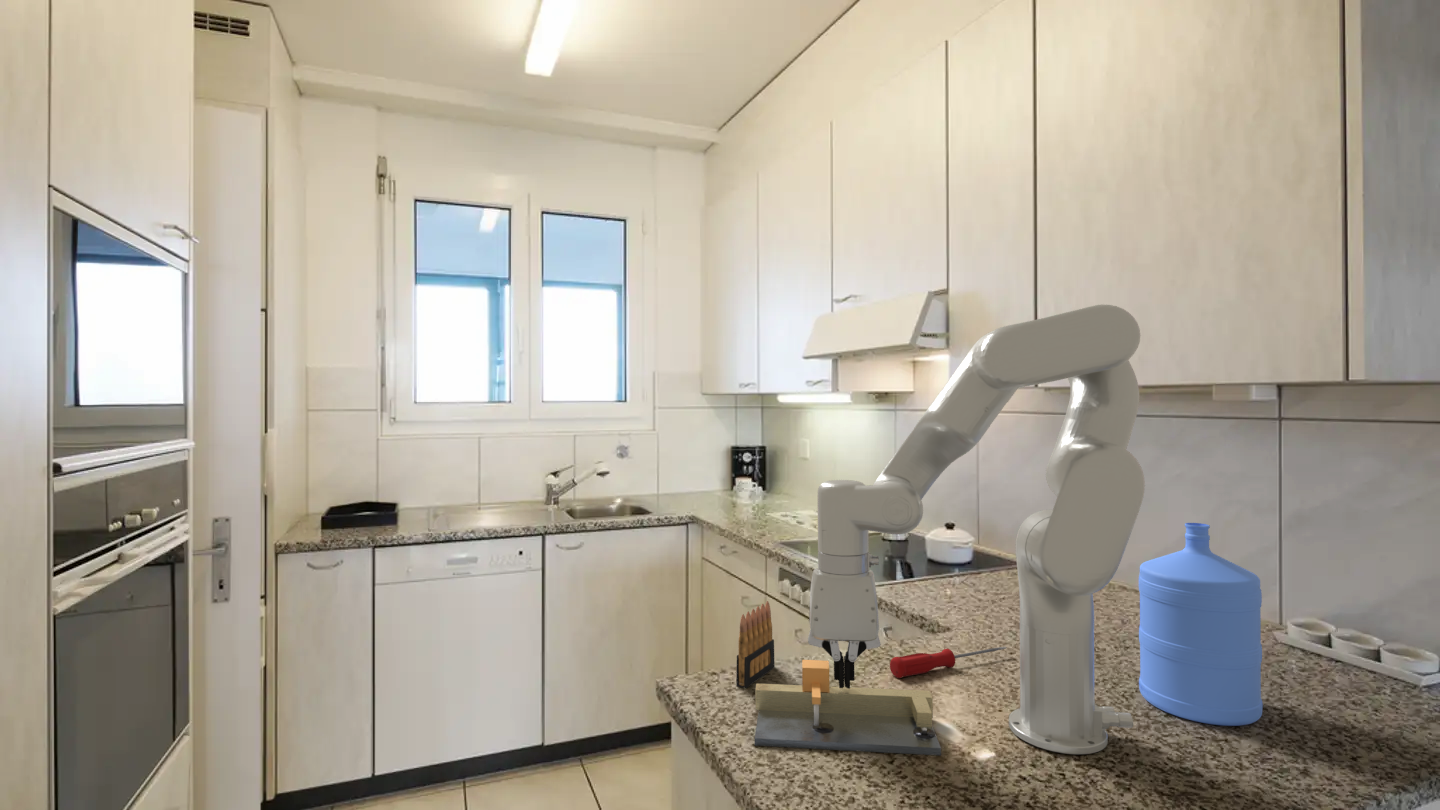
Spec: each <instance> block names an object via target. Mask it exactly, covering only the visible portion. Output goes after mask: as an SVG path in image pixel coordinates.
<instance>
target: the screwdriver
mask: <svg viewBox="0 0 1440 810" xmlns="http://www.w3.org/2000/svg"><path fill="white" fill-rule="evenodd" d="M1005 649H1007V647H1006V646H999V647H994V648H993V647H992V648H988V649H983V650H976V651H970V652H967V653H961V654H955V653H954V652H953V651H952V649H950V648H944V649H942V651H939V652H936V653H926V652H925V653H924V652H919V653H914V654H907V655H902V656H895V657H892V658H891V659H890V662H889V669H890V672H891V674H892V675H893V676H894V677H895V678H896V679H902V678H905V677H910V676H914V675H921V674H926V673H928V672H930V671H932V670H934V669H937V668H941V667H946V668H948V669H949V668H954V667H955V665H956V659H959V658H965V657H970V656H976V655H981V654H985V653H991V652H997V651H1001V650H1005Z"/></svg>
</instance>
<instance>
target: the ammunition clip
mask: <svg viewBox="0 0 1440 810" xmlns="http://www.w3.org/2000/svg"><path fill="white" fill-rule="evenodd" d="M738 632H739V633H738V634H739V636H738V654H737V655H736V675H735V676H736V680H735V681H736V682H735V683H736V685H735V686H736V687H738V688H743V689H747V688H749V687H750V686H751V685H753V684H754V683H755V682H757V681H759V680H760V679H761V678H762V677H764V676H765V675H766V674H767V673H769V672H771V671H772V670H773V669H774V668H775V640H774V639H773V624H772V612H771V606H770V602H769V601H768V600H767V601H766V602H765V604H764V603H761V606H759V605H758V606H757V607H756V609H755V608H752V610H751V612H750V611H747V613H746V615H744V613H742V614H741V617H740V621H739V631H738Z"/></svg>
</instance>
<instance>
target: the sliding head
mask: <svg viewBox="0 0 1440 810" xmlns="http://www.w3.org/2000/svg"><path fill="white" fill-rule="evenodd" d="M801 669H802V670H801V671H802V673H801V674H802V675H801V677H802V680H801V681H802V684H801V685H802V691H811V692H812V704H814V725H815V726H819V705H821V694H820V692H830V689H829V687H830V662H829V660H821V659H820V660H819V659H818V660H817V659H802V663H801Z"/></svg>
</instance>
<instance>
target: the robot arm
mask: <svg viewBox="0 0 1440 810" xmlns="http://www.w3.org/2000/svg"><path fill="white" fill-rule="evenodd" d="M1140 342H1141V329H1140V326H1139V323H1138V321H1137V320H1136V319H1135V317H1134V316H1133V314H1131V313H1130V312H1129V311H1127V310H1126V309H1124V308H1122V307H1120V306H1117V305H1112V304H1096V305H1091V306H1087V307H1082V308H1078V309H1074V310H1071V311H1066V312H1062V313H1059V314H1054V315H1051V316H1046V317H1043V318H1042V317H1040V318H1038V319H1034V320H1028V321H1024V322H1018V323H1014V324H1009V325H1004V326H1001V327H998V328H996V329H994V330H992V331H990V332H988V333H986V334H984V335H983V336H981V337H979V339H978V340H977V341H976V342H975V343H974V344H973V346H972V347H971V348H970V349H969V351H968V352H967V354H966V356H965V357H964V358H963V359H962V361H961V362H960V364H959V365H958V367H957V368H956V369H955V371H954V372H953V373H952V375H951V376H950V377H949V379H948V380H947V382H946V383H945V384H944V386H943V387H942V388H941V390H940V392H939V393H938V394H937V396H936V397H935V398H934V400H933V401H932V402H931V404H930V405H929V406H928V408H927V409H926V411H925V412H924V413H923V415H921V417H920V418H919V420H918V422H917V423H916V425H915V427H914V428H913V429H912V431H911V432H910V433H909V435H908V436H907V437H906V439H905V440H904V441H903V443H902V444H901V445H900V447H899V448H898V449H897V451H896V452H895V453H894V455H893V456H892V457H891V459H890V460H889V461H888V463H887V464H886V465H885V467H884V468H883V470H882V471H881V473H880V474H879V475H878V477H877V478H876V479H875V481H874V483H873V484H872V485H871V484H870V485H867V484H864V483H863V482H861V481H858V480H849V479H834V480H833V479H831V480H826V481H822V483H820V484H819V486H818V488H817V568H814V569H813V571H812V574H811V581H810V591H809V592H810V593H809V628H810V630H809V634H808V638H807V643H808V645H811V646H813V647H816V648H821V649H823V650H824V651H825V652H826V653H827V654H828V655H829V656H830V657H831V658H832V660H833V679H834V681H838V687H839V688H843V687H846V688H849V689H850V687H851V681H855V675H856V674H855V662H856V661H857V658H859V656H861V655H862V653H864V652H865V651H866V650H872V649H875V648H879V647H881V639H880V636H879V628H880V625H879V624H880V623H879V607H878V606H879V605H878V604H879V603H878V595H877V588H876V587H877V586H876V580H875V575H874V571H873V570H871V569H870V568H871V567H873V566H879V564H880V563H879V562H880V560H879V556H878V555H874V554H871V553H870V551H869V550H870V548H869V531H870V532H876V533H881V534H888V535H895V536H896V535H904V534H908V533H910V532H913V530H915V529H916V528H917V527H918V526H919V525H920V523H921V521H922V519H923V516H924V515H923V514H924V504H923V501H922V500H923V498H924V497H925V495H926V494H927V493H928V491H929V490H930V489H931V487H932V486H933V485H934V483H936V481H937V480H938V478H939V477H940V476H941V475H942V473H943V472H944V471H945V470H946V469H947V468H948V467H949V466H950V465H951V464H953V463H954V462H955V461H957V460H958V459H959V458H961V457H963V456H964V455H966V454H968V453H969V452H970V451H971V450H973V448H974V447H975V446H976V445H978V443H979V442H980V441H981V440H982V438H983V437H984V435H985V434H986V433H987V431H988V430H989V429H990V427H991V426H992V424H993V422H994V421H995V420H996V418H997V417H998V415H999V414H1000V413H1001V411H1002V410H1003V409H1004V408H1005V406H1006V405H1007V403H1009V402H1010V400H1011V398H1012V397H1013V396H1014V395H1015V393H1016V391H1017V390H1018V389H1020V388H1024V387H1029V386H1035V385H1040V384H1041V385H1042V384H1046V383H1053V382H1057V381H1061V380H1065V379H1067V380H1068V383H1069V389H1070V391H1069V392H1070V396H1069V402H1068V405H1067V409H1066V412H1065V416H1064V419H1063V422H1062V424H1061V428H1060V430H1059V432H1058V436H1057V439H1056V441H1055V445H1054V447H1053V450H1052V452H1051V455H1050V457H1049V459H1048V462H1047V466H1046V468H1045V469H1046V470H1045V471H1046V472H1045V480H1046V483H1047V486H1048V487H1049V489H1050V491H1051V492H1052V493H1053V494H1054V495H1055V496H1056V500H1055V502H1054V506H1053V509H1042V510H1039V511H1035V512H1034V513H1031V514H1030V515H1029V516H1028V517H1026V518H1025V519H1024V520H1023V521H1022V523H1021V524H1020V525H1019V528H1018V530H1017V534H1016V539H1015V560H1016V569H1017V578H1018V590H1019V593H1018V595H1019V688H1020V689H1019V691H1020V692H1019V694H1020V695H1019V697H1020V698H1019V701H1020V702H1019V703H1020V705H1019V706H1020V707H1019V708H1016V709H1014V710H1013V711H1012V712H1011V713H1010V714H1009V716H1008V727H1009V729H1010V731H1011V732H1012V733H1014V735H1015V736H1017V737H1018V738H1019V739H1021V740H1022V741H1024V742H1026V743H1028V744H1030V745H1031V746H1032V745H1033V746H1035V747H1037V748H1040V749H1043V750H1047V751H1050V752H1054V753H1060V754H1067V755H1088V754H1089V755H1090V754H1094V753H1098V752H1100V751H1102V750H1104V749H1105V748H1107V745H1108V743H1109V742H1108V737H1109V735H1108V733H1107V730H1108V729H1109V728H1110V727H1118V728H1126V729H1127V728H1128V729H1132V728H1133V727H1134V720H1133V719H1134V718H1133V715H1132V714H1131V713H1130V712H1122V711H1121V712H1117V711H1115V708H1114V707H1113V706H1107V705H1106V706H1105V705H1103V706H1098V705H1097V703H1095V604H1094V603H1095V602H1094V595H1093V594H1096V593H1098V592H1099V591H1101V590H1103V589H1104V588H1105V587H1106V586H1107V585H1108V584H1109V583H1110V582H1111V581H1112V579H1113V578H1114V577H1115V574H1116V572H1117V571H1118V568H1119V566H1120V564H1121V562H1122V559H1123V557H1124V553H1125V551H1126V548H1127V545H1128V543H1129V540H1130V538H1131V535H1132V531H1133V528H1134V526H1135V524H1136V520H1137V519H1138V518H1137V517H1138V515H1139V513H1140V509H1141V507H1142V505H1143V504H1142V503H1143V499H1144V494H1145V486H1146V485H1145V476H1144V475H1145V474H1144V470H1143V468H1142V466H1141V463H1140V462H1139V461H1138V459H1137V458H1136V457H1135V456H1134V455H1133V454H1132V453H1131V452H1130V451H1129V450H1127V448H1128V446H1129V442H1130V439H1131V436H1132V433H1133V429H1134V425H1135V422H1136V418H1137V415H1138V411H1139V405H1140V388H1139V383H1138V379H1137V375H1136V374H1135V371H1134V369H1133V365H1132V364H1131V363H1130V361H1129V360H1130V359H1131V358H1132V357H1133V355H1134V354H1136V352H1137V350H1138V348H1139V345H1140ZM839 642H848V643H847V644H848V645H847V651H846V652H845V655H844V656H843V652H842V651H841V650H840V645H839Z"/></svg>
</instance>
